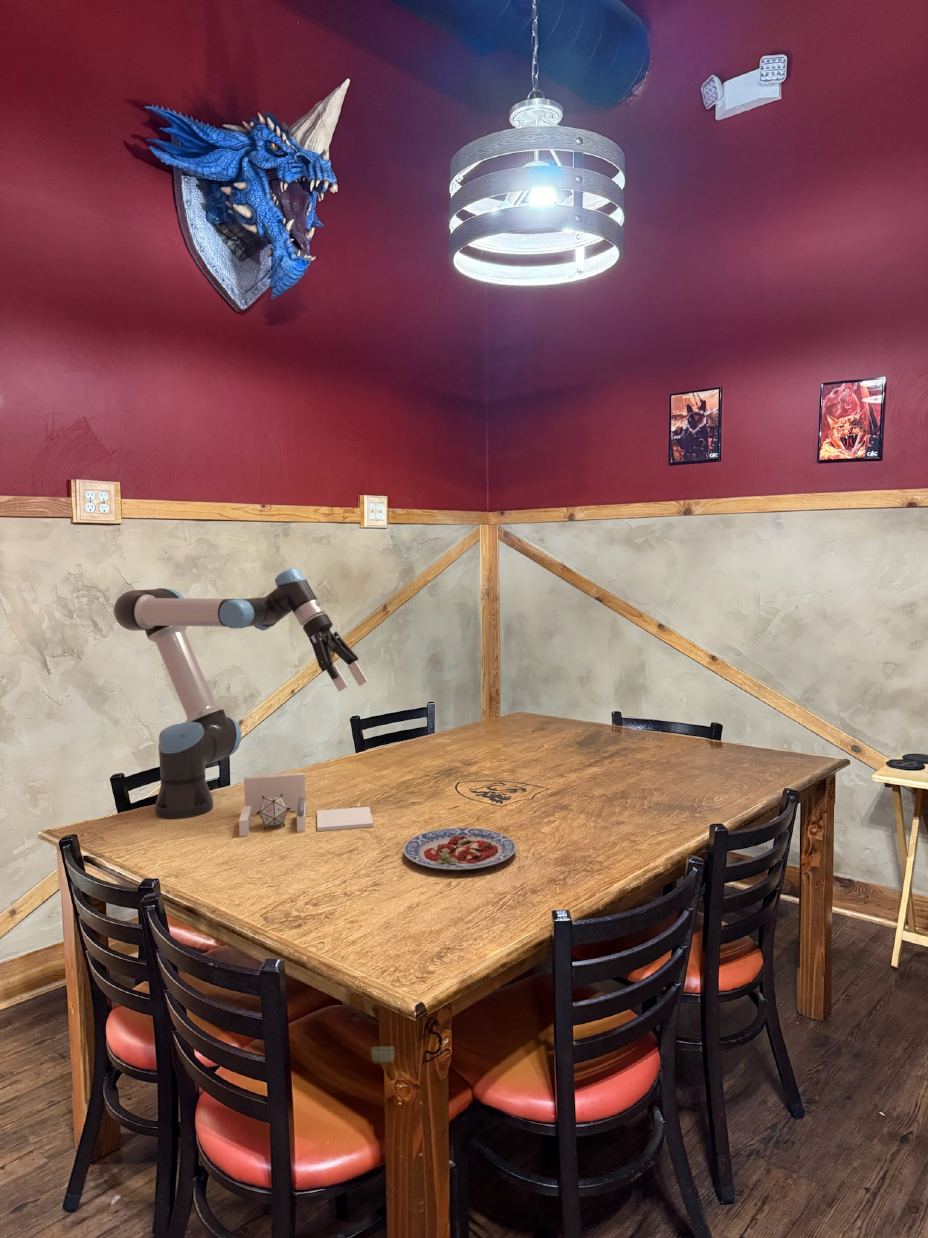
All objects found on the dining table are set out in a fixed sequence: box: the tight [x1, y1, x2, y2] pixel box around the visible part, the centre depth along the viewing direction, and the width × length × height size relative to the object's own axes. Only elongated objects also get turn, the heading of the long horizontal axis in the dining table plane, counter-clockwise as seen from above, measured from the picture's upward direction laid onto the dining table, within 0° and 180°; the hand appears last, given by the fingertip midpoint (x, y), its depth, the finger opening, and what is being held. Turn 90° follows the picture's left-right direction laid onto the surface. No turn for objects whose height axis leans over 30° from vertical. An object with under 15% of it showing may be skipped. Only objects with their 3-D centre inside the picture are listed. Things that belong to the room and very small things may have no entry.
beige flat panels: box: [238, 772, 307, 837], centre depth 206 cm, size 16×19×10 cm
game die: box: [256, 793, 291, 830], centre depth 203 cm, size 9×8×10 cm
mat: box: [316, 806, 374, 832], centre depth 206 cm, size 14×14×1 cm
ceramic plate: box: [402, 827, 517, 871], centre depth 181 cm, size 26×26×3 cm
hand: (353, 686), depth 212 cm, fingers open, 13 cm apart
